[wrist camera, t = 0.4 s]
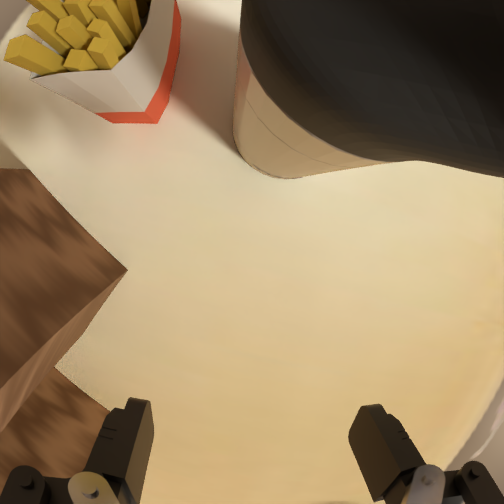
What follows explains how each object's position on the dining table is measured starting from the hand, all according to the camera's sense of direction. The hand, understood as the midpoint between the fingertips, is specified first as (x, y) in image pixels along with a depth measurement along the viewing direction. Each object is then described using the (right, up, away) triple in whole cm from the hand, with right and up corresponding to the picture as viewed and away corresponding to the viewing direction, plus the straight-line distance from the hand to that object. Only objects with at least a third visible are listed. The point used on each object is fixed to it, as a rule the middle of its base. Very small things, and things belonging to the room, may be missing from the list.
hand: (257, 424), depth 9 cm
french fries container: (-9, +23, +13) cm, 28 cm away
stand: (-21, +6, +16) cm, 27 cm away
